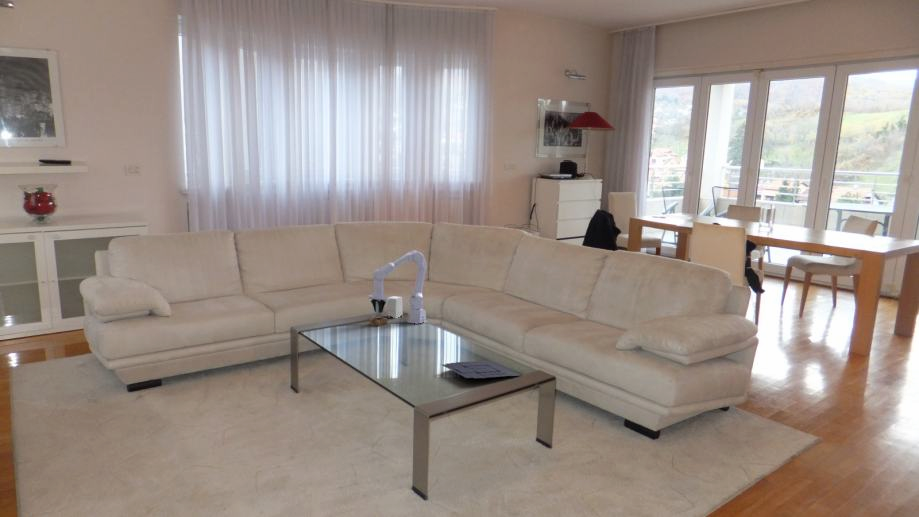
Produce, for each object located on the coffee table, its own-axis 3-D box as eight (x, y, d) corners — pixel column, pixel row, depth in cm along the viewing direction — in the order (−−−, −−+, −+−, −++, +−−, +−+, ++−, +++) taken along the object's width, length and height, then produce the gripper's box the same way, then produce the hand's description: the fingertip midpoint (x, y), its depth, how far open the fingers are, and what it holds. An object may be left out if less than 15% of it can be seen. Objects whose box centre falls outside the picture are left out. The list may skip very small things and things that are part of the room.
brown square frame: (387, 324, 351) (387, 318, 351) (378, 326, 345) (378, 320, 345) (378, 322, 356) (378, 316, 355) (369, 324, 349) (369, 318, 349)
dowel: (382, 315, 350) (382, 301, 349) (378, 316, 347) (378, 302, 346) (378, 315, 352) (378, 300, 351) (374, 316, 349) (374, 301, 348)
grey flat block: (437, 369, 268) (438, 361, 268) (488, 366, 285) (489, 359, 285) (468, 385, 248) (469, 377, 248) (521, 381, 266) (522, 373, 265)
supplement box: (402, 316, 372) (403, 297, 370) (395, 318, 366) (395, 299, 364) (393, 314, 376) (393, 295, 374) (386, 317, 369) (386, 297, 368)
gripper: (365, 289, 348) (364, 311, 350) (383, 292, 340) (383, 315, 342) (373, 287, 354) (373, 309, 356) (391, 290, 346) (391, 312, 348)
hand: (378, 312), depth 349 cm, fingers closed on dowel, 3 cm apart
